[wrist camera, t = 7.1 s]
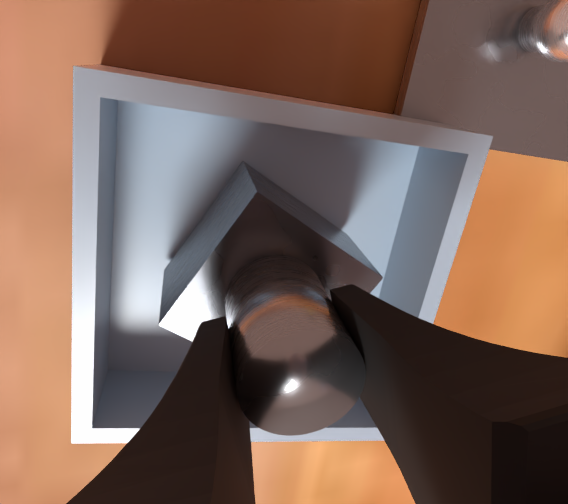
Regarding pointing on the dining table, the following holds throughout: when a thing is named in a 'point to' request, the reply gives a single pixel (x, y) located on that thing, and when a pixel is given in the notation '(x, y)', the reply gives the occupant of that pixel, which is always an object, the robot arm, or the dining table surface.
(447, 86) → the stud plate
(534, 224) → the dining table surface
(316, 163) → the bin
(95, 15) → the dining table surface
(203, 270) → the knob
